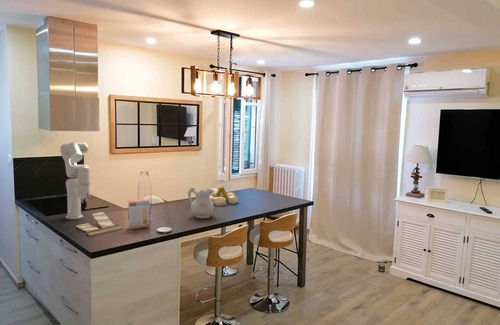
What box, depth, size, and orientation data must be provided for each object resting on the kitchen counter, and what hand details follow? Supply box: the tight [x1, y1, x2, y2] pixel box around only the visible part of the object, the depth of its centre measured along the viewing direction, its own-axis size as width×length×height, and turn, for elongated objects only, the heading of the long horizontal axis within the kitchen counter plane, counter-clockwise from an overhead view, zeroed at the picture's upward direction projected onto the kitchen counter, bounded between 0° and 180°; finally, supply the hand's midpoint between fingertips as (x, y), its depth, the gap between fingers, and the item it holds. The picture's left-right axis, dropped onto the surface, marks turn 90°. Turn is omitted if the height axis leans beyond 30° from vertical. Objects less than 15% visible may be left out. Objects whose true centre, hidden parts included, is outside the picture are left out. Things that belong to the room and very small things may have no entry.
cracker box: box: [128, 198, 150, 230], centre depth 274 cm, size 14×6×21 cm, turn 121°
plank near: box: [75, 222, 100, 233], centre depth 267 cm, size 18×9×1 cm, turn 50°
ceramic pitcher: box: [187, 187, 215, 219], centre depth 310 cm, size 22×20×25 cm
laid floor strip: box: [85, 224, 124, 237], centre depth 262 cm, size 7×24×2 cm, turn 140°
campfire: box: [209, 185, 239, 207], centre depth 367 cm, size 35×34×17 cm
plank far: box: [91, 211, 115, 229], centre depth 274 cm, size 18×9×1 cm, turn 50°
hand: (83, 207), depth 269 cm, fingers closed
